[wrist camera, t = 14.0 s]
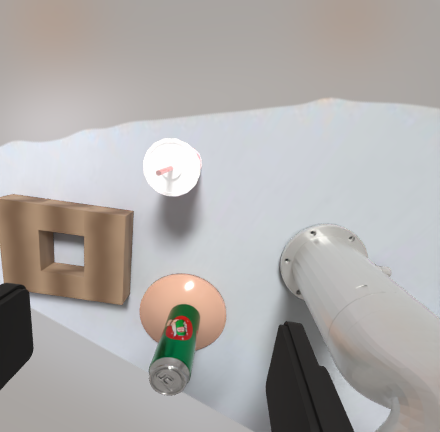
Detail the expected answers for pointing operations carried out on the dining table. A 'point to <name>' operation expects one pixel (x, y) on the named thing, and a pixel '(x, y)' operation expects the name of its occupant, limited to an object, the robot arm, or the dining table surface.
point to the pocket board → (44, 248)
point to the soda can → (175, 351)
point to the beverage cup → (172, 167)
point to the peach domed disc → (183, 294)
